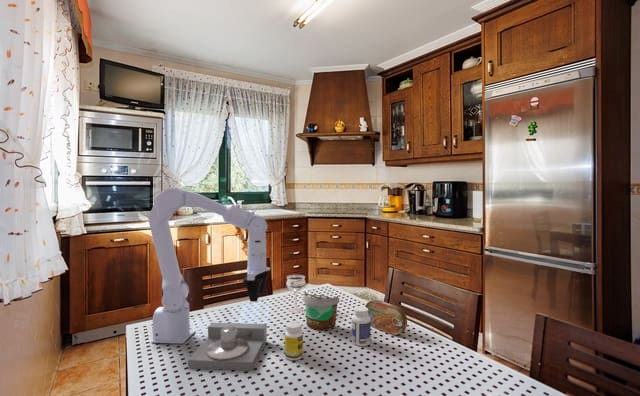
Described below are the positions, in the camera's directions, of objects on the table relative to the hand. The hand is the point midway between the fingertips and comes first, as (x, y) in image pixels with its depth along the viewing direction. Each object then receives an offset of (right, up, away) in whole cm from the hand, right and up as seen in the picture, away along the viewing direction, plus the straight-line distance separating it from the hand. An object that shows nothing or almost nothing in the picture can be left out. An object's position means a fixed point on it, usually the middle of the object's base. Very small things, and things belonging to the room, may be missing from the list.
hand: (257, 296), depth 103 cm
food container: (+19, -10, +1) cm, 22 cm away
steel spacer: (-4, -8, -17) cm, 19 cm away
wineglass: (+11, -10, +16) cm, 21 cm away
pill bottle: (+31, -11, -9) cm, 34 cm away
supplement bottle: (+13, -11, -17) cm, 24 cm away
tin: (+40, -10, 0) cm, 41 cm away
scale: (-4, -10, -15) cm, 19 cm away
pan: (-4, -8, -18) cm, 20 cm away
